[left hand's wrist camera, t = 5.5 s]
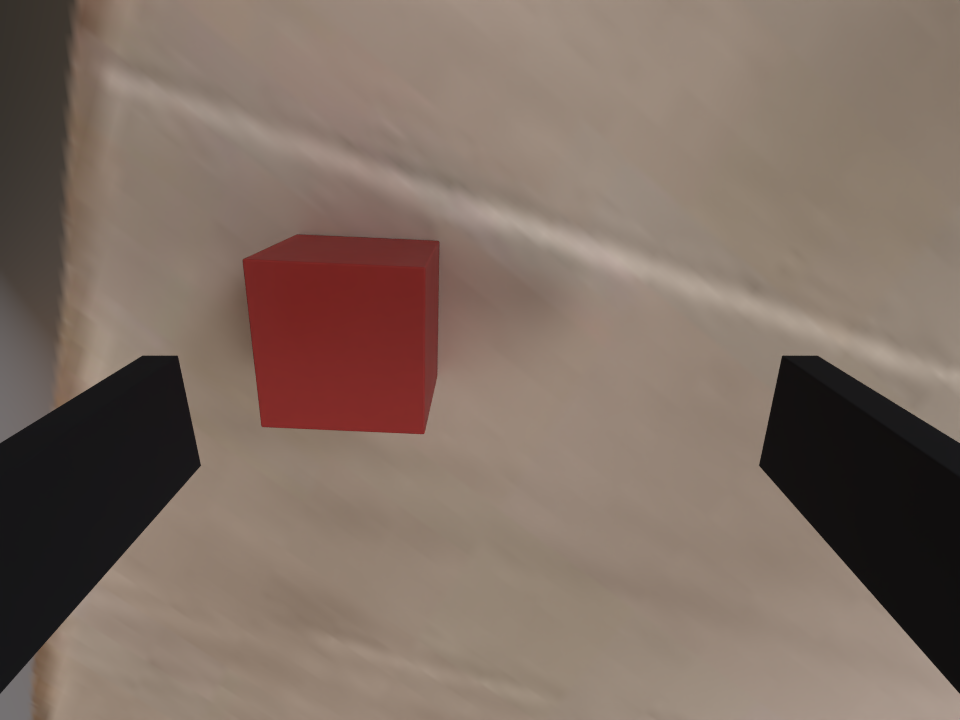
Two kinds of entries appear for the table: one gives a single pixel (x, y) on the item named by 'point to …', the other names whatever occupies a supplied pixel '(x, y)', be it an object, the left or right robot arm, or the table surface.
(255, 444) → the table surface
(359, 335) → the block
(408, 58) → the table surface
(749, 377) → the table surface
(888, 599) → the left robot arm
